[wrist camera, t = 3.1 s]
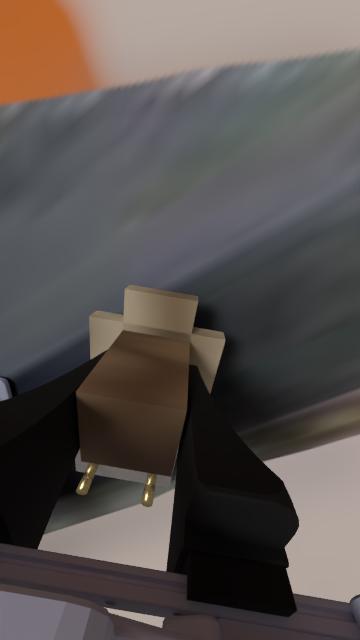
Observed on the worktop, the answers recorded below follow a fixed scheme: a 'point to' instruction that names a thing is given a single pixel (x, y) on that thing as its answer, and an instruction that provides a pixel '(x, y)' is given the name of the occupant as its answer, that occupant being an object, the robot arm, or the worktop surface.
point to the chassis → (120, 473)
